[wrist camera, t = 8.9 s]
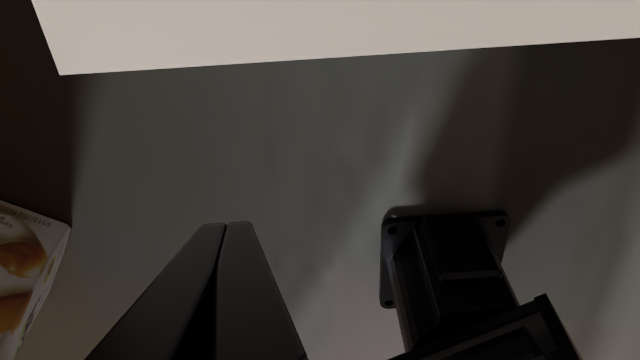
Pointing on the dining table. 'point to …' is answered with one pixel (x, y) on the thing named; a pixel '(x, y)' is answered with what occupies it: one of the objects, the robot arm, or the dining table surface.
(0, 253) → the coffee box
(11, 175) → the dining table surface
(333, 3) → the jamb
